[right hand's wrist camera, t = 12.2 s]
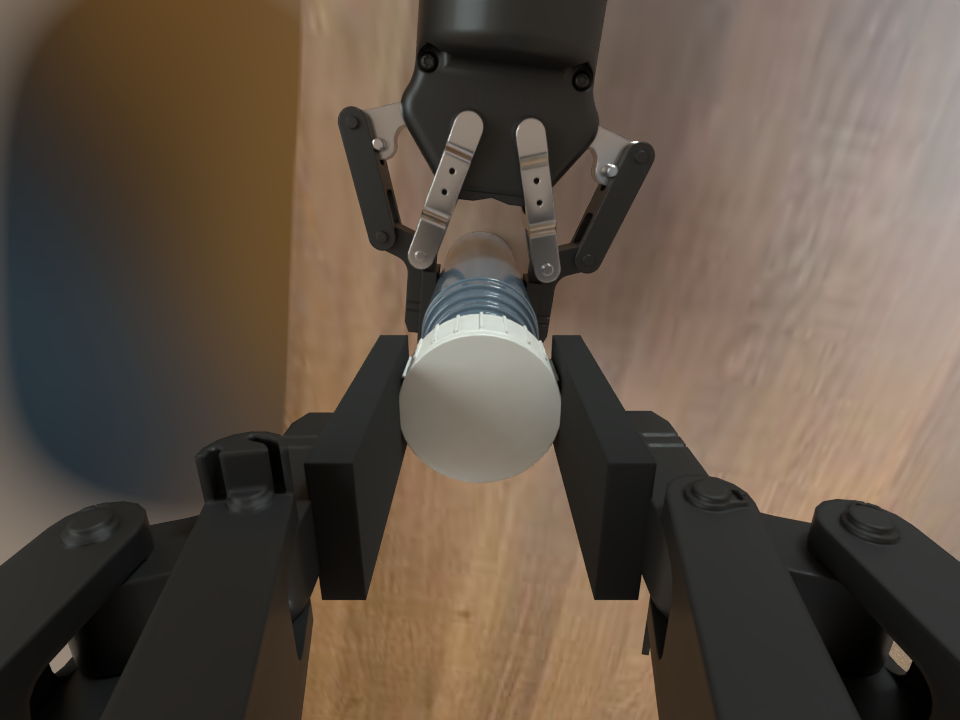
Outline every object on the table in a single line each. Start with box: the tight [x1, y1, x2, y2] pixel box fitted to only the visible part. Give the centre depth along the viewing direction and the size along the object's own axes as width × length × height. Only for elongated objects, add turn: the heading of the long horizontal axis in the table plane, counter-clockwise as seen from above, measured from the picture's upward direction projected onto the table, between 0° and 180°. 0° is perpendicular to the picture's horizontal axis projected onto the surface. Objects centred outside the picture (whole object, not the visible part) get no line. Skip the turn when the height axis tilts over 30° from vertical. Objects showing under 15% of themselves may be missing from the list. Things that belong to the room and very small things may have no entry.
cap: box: [399, 312, 561, 483], centre depth 14 cm, size 4×4×2 cm
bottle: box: [421, 232, 539, 341], centre depth 22 cm, size 4×4×20 cm
